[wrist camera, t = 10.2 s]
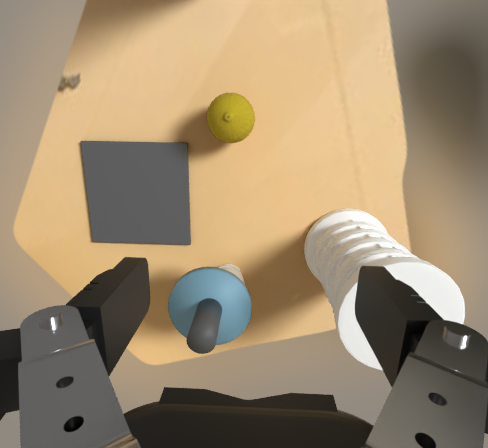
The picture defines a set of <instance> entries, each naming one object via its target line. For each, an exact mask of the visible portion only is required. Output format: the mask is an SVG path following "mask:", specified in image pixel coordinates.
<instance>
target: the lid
mask: <svg viewBox="0 0 488 448" xmlns="http://www.w3.org/2000/svg"><path fill="white" fill-rule="evenodd" d="M251 308H252V304H251V297H250V294H249V291H248V289H247V287H246V286H245V284H244V283H243V282H242V281H241V280H240V279H239V278H238V277H237V276H236V275H234V274H233V273H231V272H229V271H227V270H224V269H221V268H217V267H202V268H197V269H194V270H192V271H190V272H188V273H186V274H185V275H184V276H182V277H181V278H180V279H179V280H178V282H177V283H176V285H175V286H174V288H173V290H172V292H171V294H170V297H169V302H168V310H169V315H170V318H171V321H172V323H173V324H174V326H175V327H176V329H177V330H178V331H179V332H180V333H181V334H182V335H184V336H185V337H186V338H187V344H188V346H189V348H190V349H191V350H192V351H194V352H196V353H201V354H204V353H208V352H210V351H212V350H213V349H214V347H215V345H220V344H224V343H227V342H230V341H232V340H234V339H235V338H237V337H238V336H239V335H240V334H241V333H243V331H244V330H245V329H246V327H247V325H248V323H249V321H250V317H251Z"/></svg>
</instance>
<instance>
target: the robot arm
mask: <svg viewBox="0 0 488 448" xmlns="http://www.w3.org/2000/svg"><path fill="white" fill-rule="evenodd" d="M149 305H150V286H149V272H148V262H147V259H146V258H133V257H125V258H124V259H123V260H122V261H120V262H119V263H118V264H117V265H116V266H115V267H114V268H113V269H109V270H107V271H105V272H103V273H101V274H99V275H97V276H96V277H95V278H94V279H93V280H92V281H91V282H90V284H88V285H87V286H85V287H84V288H83V290H81V291H80V292H79V293H78V294H77V295H76V296H75V297H73V298H72V299H71V300H70V301H69V302H68V303H67V304H66V305H61V306H53V307H48V308H45V309H42V310H39V311H37V312H35V313H33V314H31V315H30V316H28V317H27V318H26V319H24V320H23V322H22V323H21V326H20V328H19V329H12V330H5V331H0V420H1V419H2V417H3V416H4V415H5V413H7V412H12V411H17V410H19V411H20V443H21V448H483V444H484V433H487V434H488V341H487V340H486V338H485V337H484V336H483V335H481V334H480V333H479V332H477V331H475V330H474V329H472V328H470V327H468V326H466V325H463V324H460V323H457V322H453V321H448V320H444V319H443V318H442V317H441V316H440V315H439V314H438V313H437V312H436V311H435V310H434V309H433V308H432V307H431V306H430V305H429V304H428V303H426V301H425V300H424V299H423V298H422V297H421V296H419V294H418V293H417V292H416V291H415V290H414V289H413V288H412V287H411V286H409V285H407V284H405V283H404V282H402V281H400V280H396V279H395V278H394V277H393V276H392V275H391V274H390V272H389V271H388V270H387V269H386V268H385V267H383V266H361V268H360V271H359V277H358V284H357V291H356V298H355V316H356V320H357V322H358V324H359V326H360V328H361V330H362V331H363V333H364V335H365V337H366V339H367V341H368V343H369V345H370V347H371V349H372V350H373V352H374V354H375V356H376V358H377V360H378V362H379V364H380V366H381V367H382V369H383V371H384V373H385V375H386V377H387V379H388V380H389V383H390V385H391V386H392V389H391V391H390V393H389V396H388V397H387V400H386V402H385V404H384V406H383V408H382V410H381V412H380V414H379V416H378V418H377V420H376V423H375V425H374V426H373V425H371V424H370V423H368V422H366V421H365V420H363V419H360V418H358V417H356V416H354V415H352V414H349V413H346V412H343V411H340V410H337V407H336V404H335V400H334V397H333V395H322V394H321V395H320V394H299V393H289V394H283V395H277V396H271V397H266V398H260V399H254V400H243V399H240V398H236V397H232V396H229V395H224V394H221V393H218V392H214V391H210V390H206V389H190V388H189V389H188V388H167V387H164V390H163V393H162V395H161V398H160V401H159V402H153V403H150V404H146V405H143V406H140V407H137V408H135V409H133V410H131V411H128V412H127V413H124V414H123V412H122V409H121V407H120V404H119V402H118V399H117V397H116V394H115V392H114V389H113V386H112V384H111V381H110V379H109V376H110V374H111V372H112V371H113V369H114V367H115V366H116V364H117V362H118V361H119V359H120V357H121V355H122V354H123V352H124V350H125V349H126V347H127V345H128V344H129V342H130V340H131V339H132V337H133V335H134V334H135V332H136V330H137V329H138V327H139V325H140V324H141V322H142V320H143V318H144V317H145V315H146V313H147V312H148V309H149Z"/></svg>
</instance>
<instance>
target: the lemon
mask: <svg viewBox="0 0 488 448" xmlns="http://www.w3.org/2000/svg"><path fill="white" fill-rule="evenodd" d="M254 121H255V115H254V111H253V107H252V106H251V104H250V102H249V101H248V100H247V99H246V98H245V97H243V96H241V95H240V94H236V93H225V94H221V95H220V96H218V97H216V98H215V99H214V100H213V101H212V103H211V104H210V106H209V108H208V112H207V123H208V127H209V129H210V131H211V132H212V134H213V135H214V136H215V137H216V138H218V139H219V140H221V141H223V142H226V143H236V142H239V141H242V140H243V139H245V138H246V137H247V136H248V135H249V134H250V132H251V131H252V129H253V126H254Z"/></svg>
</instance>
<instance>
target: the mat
mask: <svg viewBox="0 0 488 448" xmlns="http://www.w3.org/2000/svg"><path fill="white" fill-rule="evenodd" d="M81 148H82V156H83V165H84V173H85V181H86V190H87V198H88V206H89V214H90V223H91V231H92V239H93V242H110V243H144V244H177V245H190V244H191V236H190V202H189V169H188V143H161V142H111V141H81Z"/></svg>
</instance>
